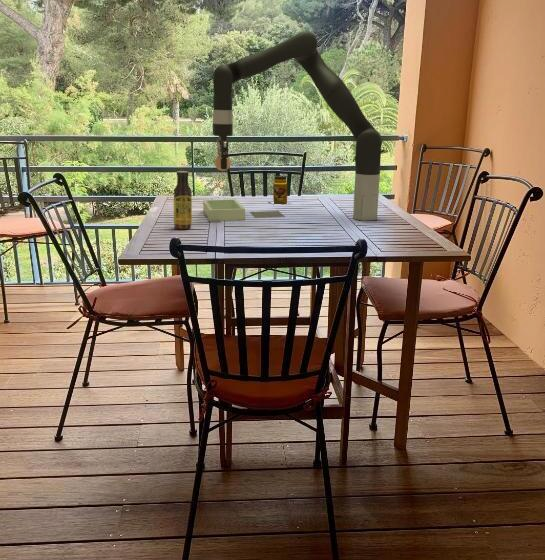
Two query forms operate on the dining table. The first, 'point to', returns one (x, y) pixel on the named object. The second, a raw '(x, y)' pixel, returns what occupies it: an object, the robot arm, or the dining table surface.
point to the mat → (267, 214)
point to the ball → (218, 163)
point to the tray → (223, 210)
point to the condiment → (280, 190)
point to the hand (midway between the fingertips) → (222, 167)
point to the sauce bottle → (182, 202)
